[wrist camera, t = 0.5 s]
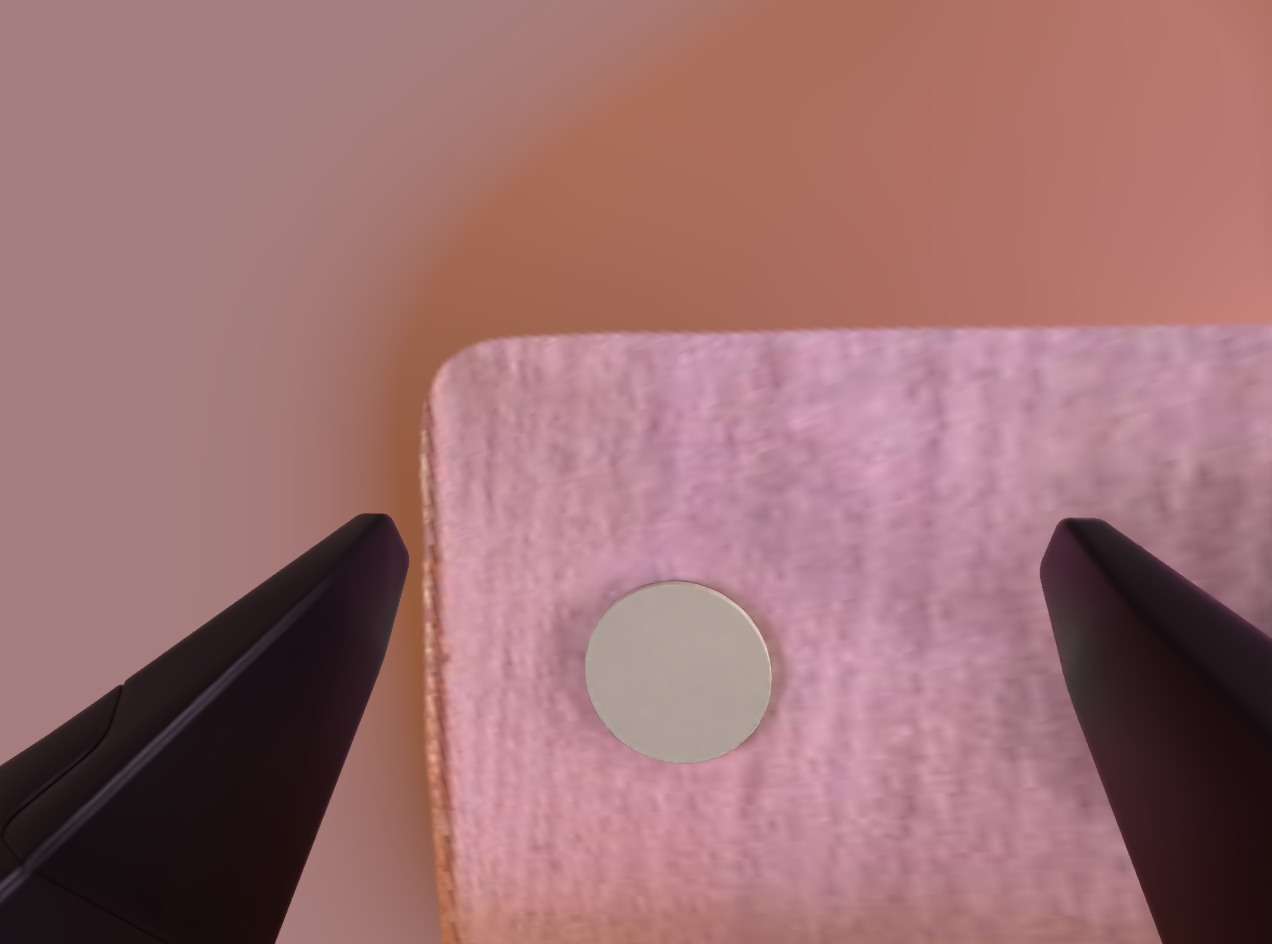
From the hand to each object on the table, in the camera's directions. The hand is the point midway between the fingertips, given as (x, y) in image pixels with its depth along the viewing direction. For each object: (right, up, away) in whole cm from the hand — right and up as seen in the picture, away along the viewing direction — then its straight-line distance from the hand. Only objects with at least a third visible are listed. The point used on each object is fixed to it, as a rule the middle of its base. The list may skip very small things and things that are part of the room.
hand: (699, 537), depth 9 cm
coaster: (+1, -7, +16) cm, 17 cm away
